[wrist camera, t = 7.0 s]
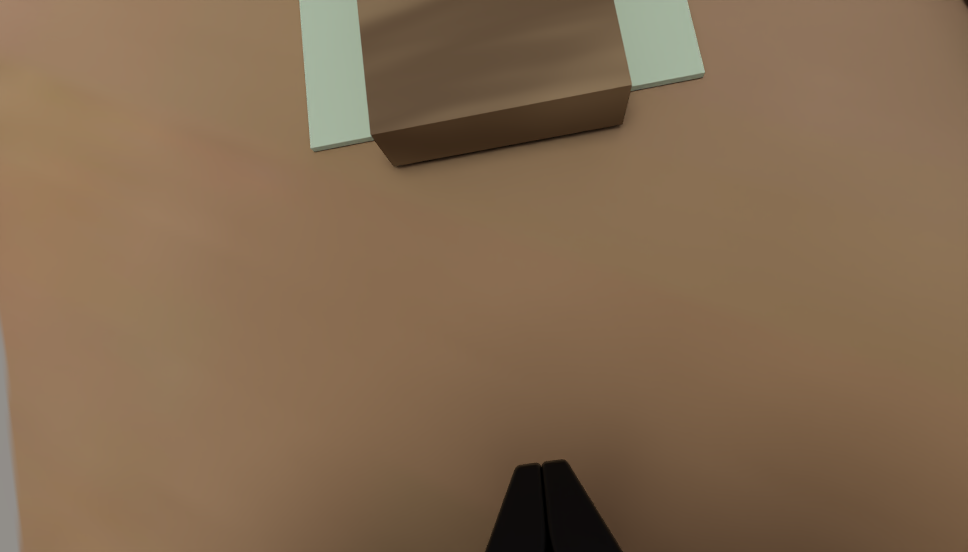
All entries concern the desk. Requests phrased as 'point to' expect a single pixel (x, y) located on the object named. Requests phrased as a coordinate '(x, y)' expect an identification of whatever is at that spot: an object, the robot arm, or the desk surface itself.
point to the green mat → (340, 72)
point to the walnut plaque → (488, 73)
